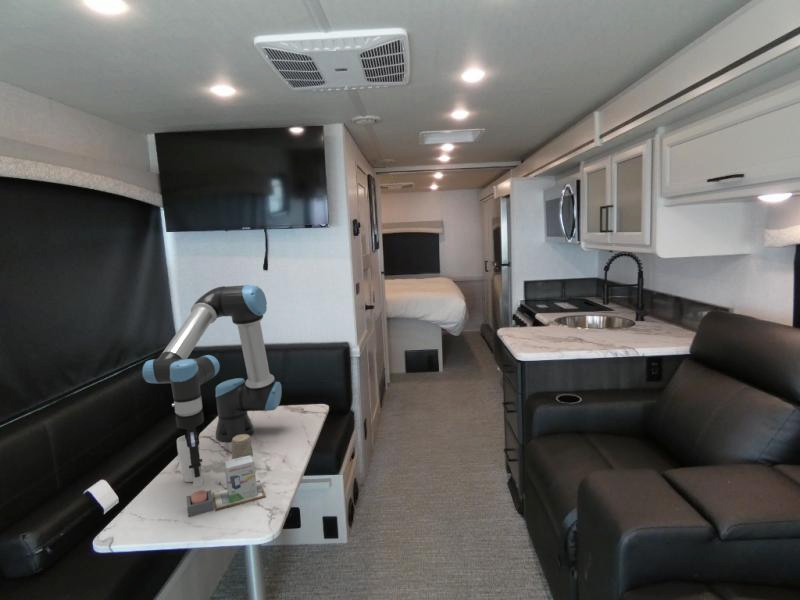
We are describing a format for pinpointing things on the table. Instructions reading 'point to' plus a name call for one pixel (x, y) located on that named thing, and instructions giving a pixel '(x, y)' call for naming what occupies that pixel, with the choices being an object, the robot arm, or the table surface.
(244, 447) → the carving
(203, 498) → the button
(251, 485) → the ink box
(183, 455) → the drinking glass
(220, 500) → the picture frame
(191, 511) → the button housing
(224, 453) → the table surface
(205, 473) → the table surface
